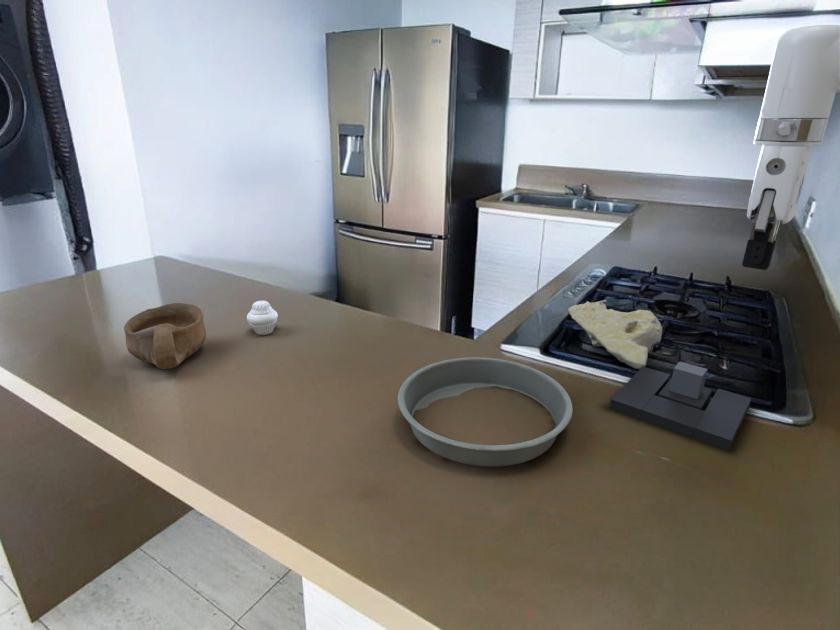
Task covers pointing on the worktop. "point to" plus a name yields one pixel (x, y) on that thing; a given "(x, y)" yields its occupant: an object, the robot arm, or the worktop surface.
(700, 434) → the dark grey u-shaped block
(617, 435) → the worktop surface
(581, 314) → the cheese
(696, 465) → the worktop surface
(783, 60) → the robot arm
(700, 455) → the worktop surface
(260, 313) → the muffin
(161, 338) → the bowl
